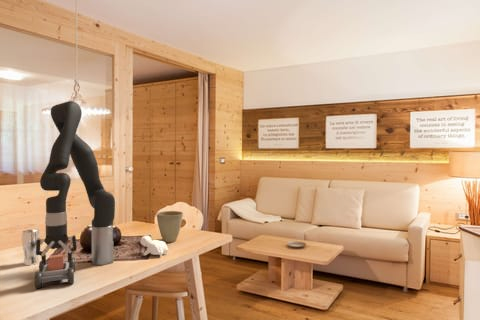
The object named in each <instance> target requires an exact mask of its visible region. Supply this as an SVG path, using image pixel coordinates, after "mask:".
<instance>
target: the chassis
mask: <svg viewBox="0 0 480 320" xmlns="http://www.w3.org/2000/svg"><path fill="white" fill-rule="evenodd" d="M38 264H39V265H38V271H35V273H34V289H40V288H42V287H43V283H48V282H54V281H56V282H57V281H62V280H67V284H68V285H70V284H75V272H76V271H75V270H76V258H75V257H72V260H71V261H70V262H68V260H66V261H63V270H54V271H48V262H46V265H44V264H42V260H39V263H38Z"/></svg>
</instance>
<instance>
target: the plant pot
mask: <svg viewBox="0 0 480 320" xmlns="http://www.w3.org/2000/svg"><path fill="white" fill-rule="evenodd" d="M183 216H184V213H183V212H182V211H179V210H178V211H177V210H167V211H160V212H157V213H156V221H157V225H158V229H159V234H160V236H161V239H162V241H163V242H165V243H174V242H176V241H177V239H178V237H179V235H180V230H181V228H182V222H183Z"/></svg>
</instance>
